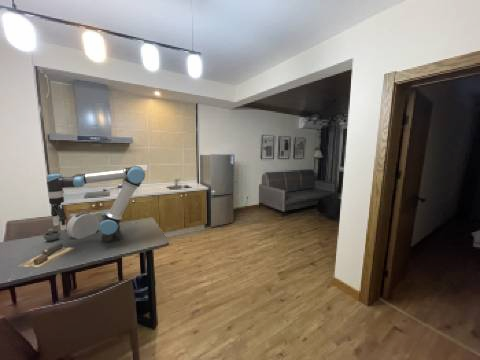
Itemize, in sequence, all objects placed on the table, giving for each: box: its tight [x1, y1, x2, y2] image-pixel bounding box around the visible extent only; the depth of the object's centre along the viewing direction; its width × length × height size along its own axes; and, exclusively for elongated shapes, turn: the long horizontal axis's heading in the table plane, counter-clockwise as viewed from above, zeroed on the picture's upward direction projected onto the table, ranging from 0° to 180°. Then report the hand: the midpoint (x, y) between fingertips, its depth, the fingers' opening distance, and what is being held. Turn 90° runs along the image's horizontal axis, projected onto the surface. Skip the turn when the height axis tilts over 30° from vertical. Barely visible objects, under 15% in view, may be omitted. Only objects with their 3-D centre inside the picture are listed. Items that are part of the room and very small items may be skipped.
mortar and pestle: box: [43, 228, 61, 243], centre depth 161 cm, size 11×9×12 cm
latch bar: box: [41, 242, 63, 256], centre depth 143 cm, size 13×4×4 cm, turn 179°
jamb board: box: [18, 247, 76, 268], centre depth 138 cm, size 16×25×5 cm, turn 179°
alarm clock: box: [65, 211, 100, 240], centre depth 173 cm, size 21×8×20 cm, turn 159°
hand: (59, 227), depth 142 cm, fingers open, 13 cm apart
